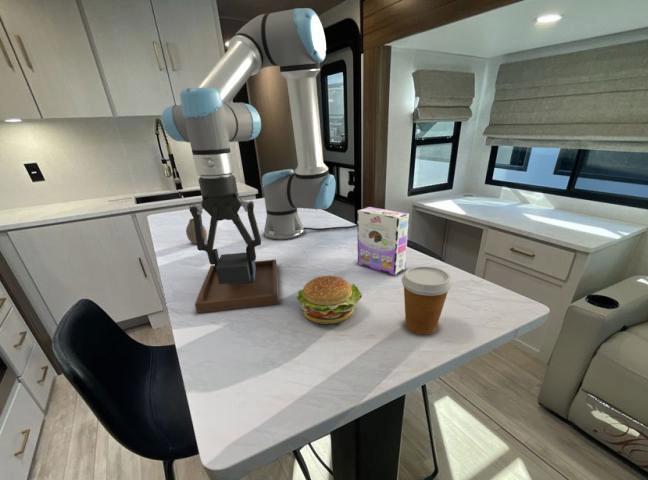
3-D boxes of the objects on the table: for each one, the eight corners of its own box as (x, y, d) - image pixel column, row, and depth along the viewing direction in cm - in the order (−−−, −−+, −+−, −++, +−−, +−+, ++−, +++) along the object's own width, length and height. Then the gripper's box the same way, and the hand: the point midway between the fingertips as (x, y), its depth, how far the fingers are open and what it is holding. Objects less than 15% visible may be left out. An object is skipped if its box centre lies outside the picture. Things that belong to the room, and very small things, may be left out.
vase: (209, 243, 118) (204, 220, 114) (189, 246, 115) (183, 223, 111) (207, 238, 123) (202, 215, 119) (188, 241, 121) (182, 218, 117)
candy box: (405, 269, 93) (410, 212, 85) (394, 276, 89) (398, 217, 81) (368, 258, 101) (369, 205, 93) (356, 263, 97) (356, 209, 89)
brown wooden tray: (277, 266, 97) (276, 259, 96) (278, 304, 78) (277, 295, 76) (212, 273, 95) (210, 265, 93) (197, 313, 75) (194, 304, 74)
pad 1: (251, 266, 83) (249, 252, 81) (249, 281, 75) (247, 265, 73) (224, 269, 82) (220, 254, 80) (219, 284, 74) (215, 268, 72)
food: (313, 336, 66) (310, 303, 62) (291, 305, 77) (288, 275, 73) (370, 319, 70) (371, 287, 66) (342, 292, 82) (342, 263, 78)
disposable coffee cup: (415, 344, 62) (422, 290, 56) (389, 320, 70) (392, 270, 64) (454, 332, 65) (464, 279, 59) (425, 310, 73) (431, 262, 67)
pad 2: (255, 268, 94) (253, 256, 92) (254, 281, 86) (252, 268, 84) (231, 271, 93) (228, 258, 91) (227, 284, 85) (224, 271, 83)
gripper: (161, 181, 63) (190, 285, 74) (263, 175, 66) (277, 276, 77) (171, 175, 69) (197, 272, 80) (264, 170, 72) (276, 264, 83)
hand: (236, 274), depth 79 cm, fingers closed on pad 1, 7 cm apart
